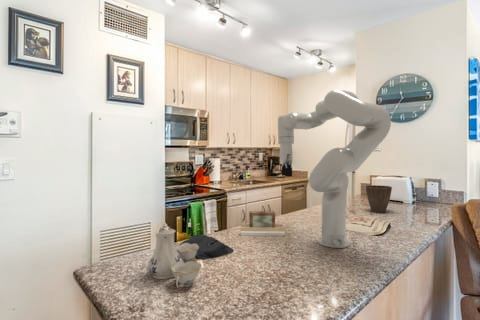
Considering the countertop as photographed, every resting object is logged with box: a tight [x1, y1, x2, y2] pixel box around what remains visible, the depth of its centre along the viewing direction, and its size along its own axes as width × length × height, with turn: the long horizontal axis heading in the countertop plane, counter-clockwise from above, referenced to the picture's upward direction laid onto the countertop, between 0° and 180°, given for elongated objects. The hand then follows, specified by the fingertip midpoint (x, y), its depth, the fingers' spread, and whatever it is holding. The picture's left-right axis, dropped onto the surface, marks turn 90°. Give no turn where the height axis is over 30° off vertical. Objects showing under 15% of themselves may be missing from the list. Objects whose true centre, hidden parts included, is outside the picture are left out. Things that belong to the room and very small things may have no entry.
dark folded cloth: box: [179, 234, 234, 261], centre depth 112 cm, size 15×22×5 cm
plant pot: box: [365, 184, 393, 214], centre depth 177 cm, size 15×15×16 cm
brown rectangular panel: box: [248, 210, 276, 228], centre depth 134 cm, size 12×4×8 cm, turn 88°
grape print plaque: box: [346, 214, 392, 236], centre depth 146 cm, size 28×6×30 cm
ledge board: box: [240, 223, 286, 237], centre depth 134 cm, size 20×12×3 cm, turn 88°
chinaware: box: [147, 222, 202, 288], centre depth 90 cm, size 28×17×17 cm, turn 15°
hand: (286, 175), depth 138 cm, fingers open, 9 cm apart
